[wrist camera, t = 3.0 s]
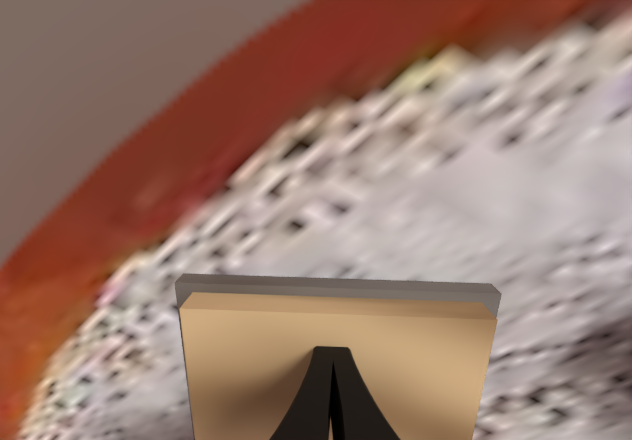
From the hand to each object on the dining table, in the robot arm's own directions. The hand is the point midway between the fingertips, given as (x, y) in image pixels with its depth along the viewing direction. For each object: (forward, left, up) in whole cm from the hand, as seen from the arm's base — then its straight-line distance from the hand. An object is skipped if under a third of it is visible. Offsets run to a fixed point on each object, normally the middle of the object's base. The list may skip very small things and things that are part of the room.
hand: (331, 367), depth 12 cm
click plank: (-3, 0, -1) cm, 3 cm away
